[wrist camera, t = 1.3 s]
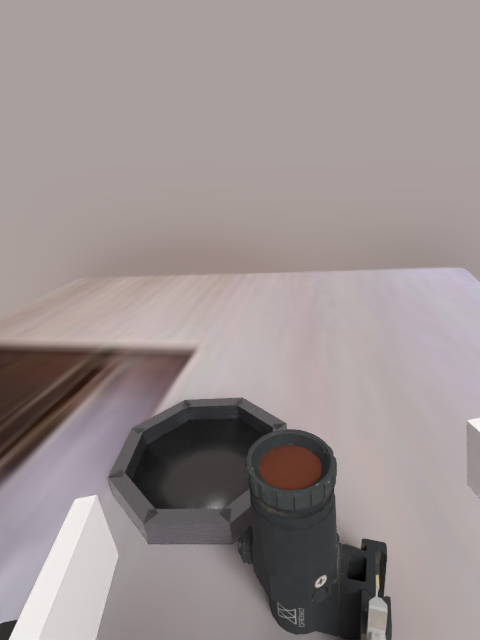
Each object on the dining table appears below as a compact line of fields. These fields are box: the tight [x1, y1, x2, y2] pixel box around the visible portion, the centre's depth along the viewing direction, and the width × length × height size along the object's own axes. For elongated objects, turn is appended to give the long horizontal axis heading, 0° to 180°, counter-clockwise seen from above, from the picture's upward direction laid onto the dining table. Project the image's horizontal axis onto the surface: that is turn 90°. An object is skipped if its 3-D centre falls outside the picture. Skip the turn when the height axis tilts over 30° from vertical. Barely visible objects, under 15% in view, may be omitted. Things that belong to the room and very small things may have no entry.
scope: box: [238, 429, 392, 640], centre depth 25 cm, size 8×14×10 cm
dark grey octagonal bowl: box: [108, 398, 287, 544], centre depth 41 cm, size 18×18×2 cm
